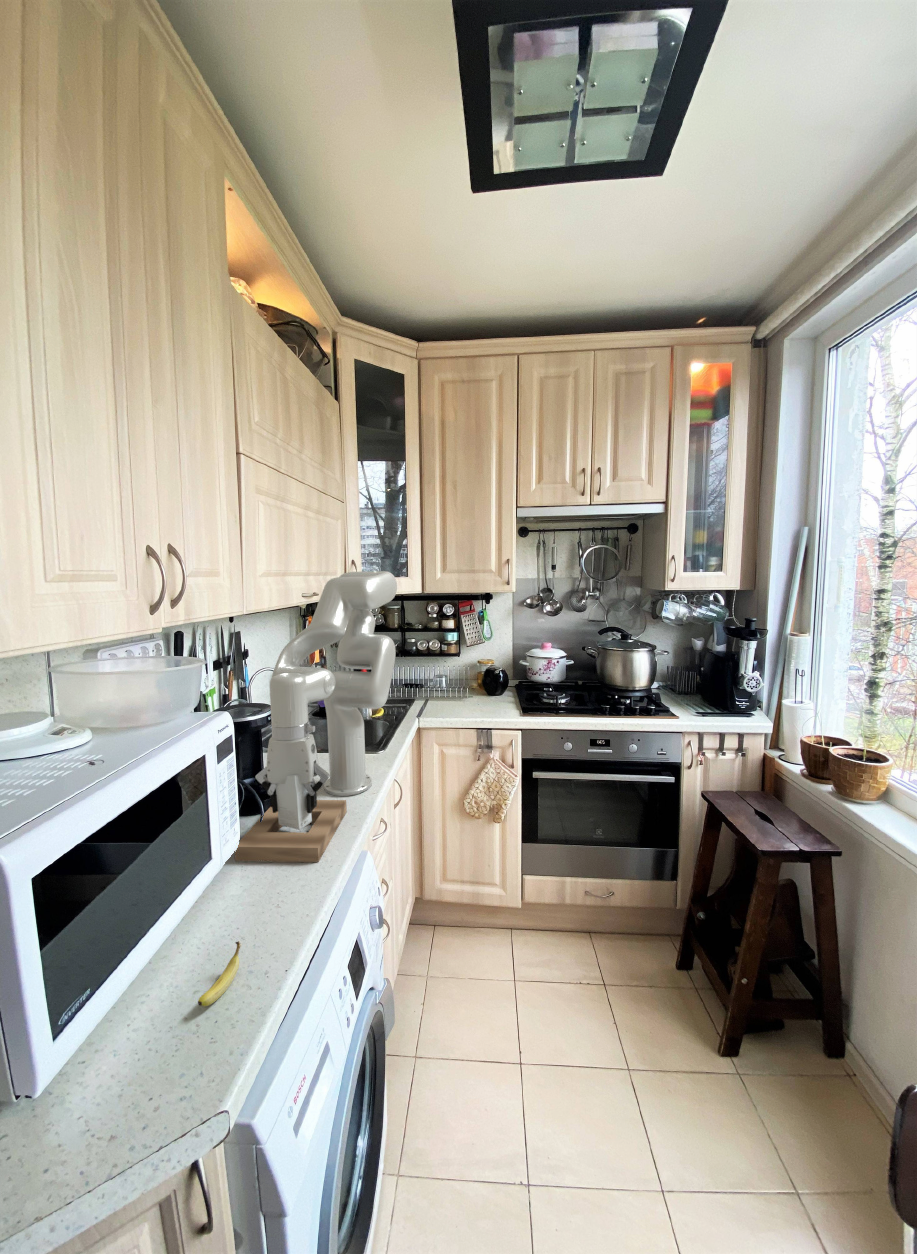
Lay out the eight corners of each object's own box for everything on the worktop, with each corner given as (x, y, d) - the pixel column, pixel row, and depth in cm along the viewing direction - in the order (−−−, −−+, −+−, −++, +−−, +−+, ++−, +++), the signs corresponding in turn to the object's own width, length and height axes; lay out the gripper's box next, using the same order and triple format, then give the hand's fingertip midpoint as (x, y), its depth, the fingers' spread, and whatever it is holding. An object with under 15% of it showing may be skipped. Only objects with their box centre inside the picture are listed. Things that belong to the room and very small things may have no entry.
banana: (235, 964, 69) (234, 939, 68) (246, 966, 69) (245, 940, 68) (195, 1015, 61) (193, 987, 60) (207, 1017, 61) (205, 989, 60)
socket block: (277, 811, 114) (276, 799, 114) (346, 811, 113) (346, 800, 113) (235, 860, 94) (234, 846, 94) (318, 861, 93) (318, 847, 93)
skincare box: (312, 821, 104) (310, 768, 103) (298, 831, 100) (295, 776, 99) (291, 816, 106) (289, 764, 105) (276, 825, 102) (273, 772, 101)
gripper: (335, 725, 105) (338, 802, 106) (259, 725, 105) (263, 801, 107) (324, 736, 97) (327, 819, 99) (242, 736, 98) (247, 818, 99)
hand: (294, 809), depth 103 cm, fingers closed on skincare box, 7 cm apart
